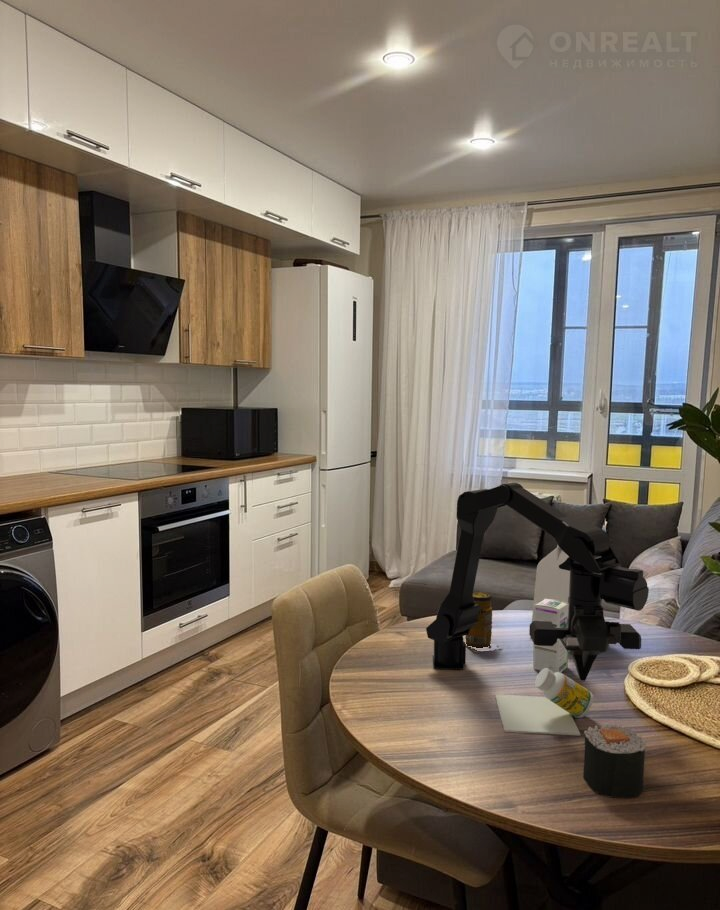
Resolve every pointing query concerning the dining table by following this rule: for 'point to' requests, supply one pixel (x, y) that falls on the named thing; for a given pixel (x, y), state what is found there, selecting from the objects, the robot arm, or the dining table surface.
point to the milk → (551, 578)
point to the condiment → (481, 623)
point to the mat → (534, 716)
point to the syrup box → (557, 654)
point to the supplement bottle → (564, 692)
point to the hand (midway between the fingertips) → (582, 680)
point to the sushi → (614, 761)
